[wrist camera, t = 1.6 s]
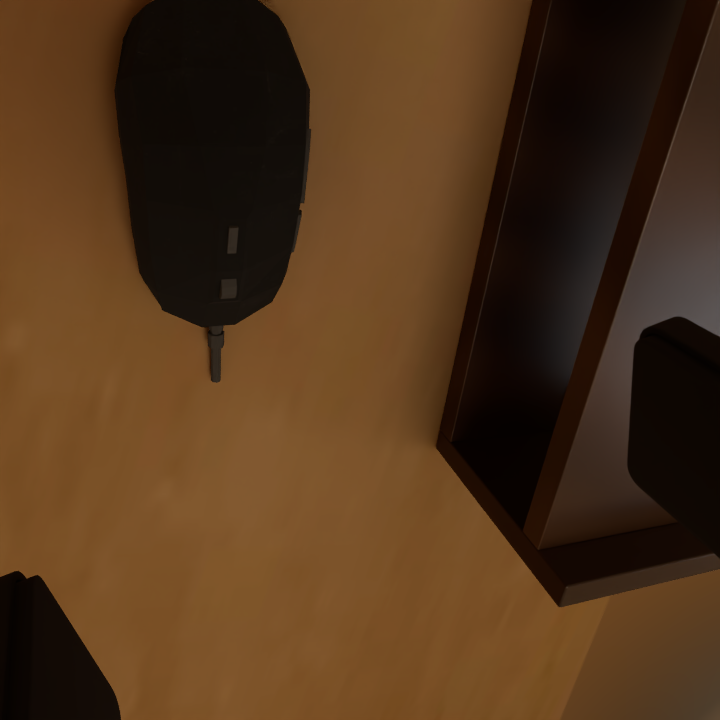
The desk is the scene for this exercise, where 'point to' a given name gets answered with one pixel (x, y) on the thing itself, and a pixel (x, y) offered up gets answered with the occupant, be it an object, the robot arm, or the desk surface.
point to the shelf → (589, 286)
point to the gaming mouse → (212, 156)
